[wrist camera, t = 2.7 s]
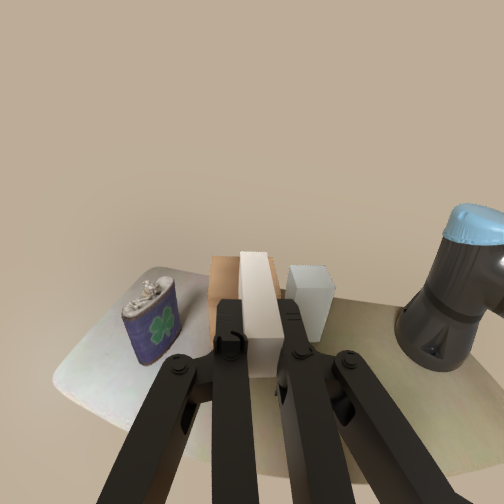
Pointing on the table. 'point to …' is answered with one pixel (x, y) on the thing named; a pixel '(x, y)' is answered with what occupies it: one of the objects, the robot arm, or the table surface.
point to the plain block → (228, 285)
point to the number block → (311, 296)
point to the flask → (153, 320)
